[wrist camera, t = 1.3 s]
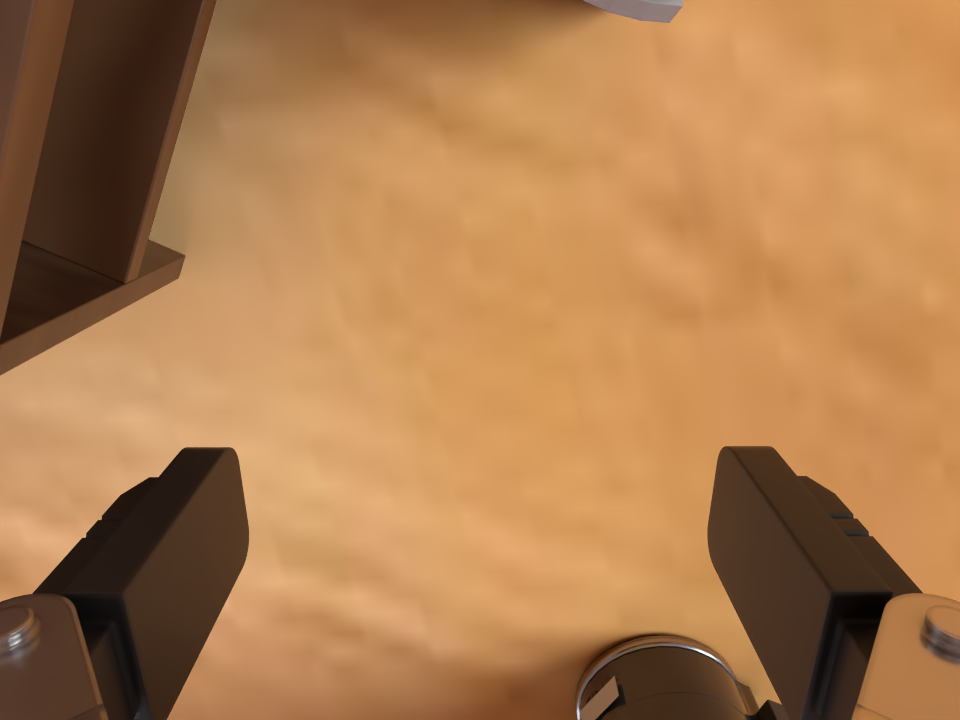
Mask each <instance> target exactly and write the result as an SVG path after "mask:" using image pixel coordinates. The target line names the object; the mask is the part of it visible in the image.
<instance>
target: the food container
mask: <svg viewBox="0 0 960 720" xmlns="http://www.w3.org/2000/svg"><path fill="white" fill-rule="evenodd" d="M583 1H586V2H588V3H590V4H592V5H594V6H596V7H599V8H601V9H603V10H605V11H607V12H610V13H614V14H618V15H621V16H625V17H629V18H633V19H637V20H641V21H653V22H664V23H670V21H671V20H672V19H673V18H674V16H675V15H676V14H677V13H678V11H679V10H680V9H681V8H682V6H683V0H583Z"/></svg>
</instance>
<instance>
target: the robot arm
mask: <svg viewBox="0 0 960 720" xmlns="http://www.w3.org/2000/svg"><path fill="white" fill-rule="evenodd" d="M248 545H249V527H248V519H247V513H246V506H245V499H244V493H243V486H242V479H241V473H240V466H239V460H238V456H237V454H236V452H235V450H234V449H233V448H230V447H187V448H184V449H182V450H181V451H180V452H179V453H178V455H177V456H176V457H175V458H174V459H173V461H172V462H171V463H170V464H169V465H168V467H167V468H166V469H165V470H164V471H163V473H162V474H161V475H160V476H159V477H149V478H148V479H146V480H144V481H143V482H141V483H140V484H138V485H136V486H135V487H133V488H131V489H130V490H128V491H127V492H125V493H123V494H122V495H120V496H119V498H118V499H117V500H116V501H115V502H114V503H113V504H112V505H111V506H110V508H109V509H108V510H107V511H106V512H105V513H104V514H103V515H102V520H98V521H97V522H96V523H95V524H94V525H93V527H92V528H91V529H90V530H89V531H88V532H87V533H86V538H82V539H81V540H80V541H79V542H78V543H77V544H76V546H75V547H74V548H73V549H72V550H71V551H70V552H69V553H68V555H67V556H66V557H65V558H64V559H63V560H62V561H61V562H60V563H59V565H58V566H57V567H56V568H55V569H54V570H53V571H52V572H51V574H50V575H49V576H48V577H47V578H46V579H45V580H44V581H43V582H42V584H41V585H40V586H39V587H38V588H37V589H36V590H35V591H34V593H33V594H29V595H23V596H19V597H14V598H11V599H8V600H5V601H2V602H0V720H167V718H168V716H169V714H170V712H171V710H172V708H173V706H174V704H175V702H176V700H177V698H178V696H179V694H180V692H181V690H182V688H183V686H184V684H185V682H186V680H187V678H188V676H189V674H190V672H191V670H192V668H193V666H194V664H195V662H196V660H197V658H198V656H199V654H200V652H201V650H202V648H203V646H204V644H205V642H206V640H207V638H208V636H209V634H210V632H211V630H212V628H213V626H214V624H215V622H216V620H217V618H218V616H219V614H220V612H221V610H222V608H223V606H224V604H225V602H226V600H227V598H228V596H229V594H230V592H231V590H232V588H233V586H234V584H235V582H236V580H237V578H238V576H239V574H240V572H241V570H242V568H243V566H244V563H245V560H246V556H247V552H248ZM708 547H709V553H710V557H711V560H712V563H713V566H714V568H715V570H716V572H717V574H718V576H719V578H720V580H721V582H722V584H723V586H724V588H725V590H726V592H727V594H728V596H729V598H730V600H731V602H732V604H733V606H734V608H735V610H736V612H737V614H738V616H739V618H740V620H741V622H742V624H743V627H744V629H745V631H746V633H747V635H748V637H749V639H750V641H751V643H752V645H753V647H754V649H755V651H756V653H757V655H758V657H759V659H760V661H761V663H762V665H763V667H764V669H765V671H766V673H767V675H768V677H769V679H770V681H771V683H772V685H773V687H774V689H775V691H776V693H777V695H778V697H779V699H780V701H781V703H782V705H781V704H778V703H776V702H773V701H771V700H767V701H766V702H765V703H764V704H763V706H762V707H761V708H760V709H759V707H758V705H757V703H756V701H755V698H754V696H753V694H752V692H751V689H750V688H749V687H748V686H745V685H743V684H740V683H739V682H737V680H736V677H735V675H734V673H733V671H732V669H731V667H730V666H729V664H728V663H727V662H726V661H725V660H724V658H723V657H722V656H720V655H719V654H718V653H717V652H716V651H714V650H713V649H711V648H709V647H708V646H706V645H704V644H702V643H699V642H697V641H694V640H691V639H687V638H683V637H677V636H649V637H642V638H638V639H634V640H630V641H627V642H625V643H622V644H620V645H618V646H616V647H614V648H612V649H610V650H608V651H607V652H605V653H604V654H602V655H601V656H600V657H599V658H597V659H596V660H595V661H594V662H593V663H592V664H591V665H590V666H589V668H588V669H587V670H586V672H585V673H584V675H583V676H582V678H581V680H580V683H579V685H578V688H577V693H576V711H577V718H578V720H960V602H958V601H955V600H952V599H949V598H946V597H941V596H937V595H931V594H923V593H922V591H921V590H920V589H919V588H918V587H917V586H916V585H915V584H914V582H913V581H912V580H911V579H910V578H909V577H908V576H907V574H906V573H905V572H904V571H903V570H902V569H901V568H900V567H899V565H898V564H897V563H896V562H895V561H894V560H893V559H892V558H891V556H890V555H889V554H888V553H887V552H886V551H885V550H884V549H883V547H882V546H881V545H880V544H879V543H878V542H877V541H876V540H875V538H874V537H873V536H869V532H868V531H867V529H866V528H865V527H864V526H863V525H862V524H861V523H860V521H859V520H858V519H854V518H853V514H852V512H851V511H850V510H849V509H848V508H847V507H846V506H845V505H844V503H843V502H842V501H841V500H840V499H839V498H838V497H837V496H836V494H834V493H833V492H831V491H830V490H828V489H826V488H825V487H823V486H821V485H820V484H818V483H817V482H815V481H813V480H812V479H810V478H809V477H807V476H797V475H796V474H795V473H794V472H793V470H792V469H791V468H790V467H789V466H788V464H787V463H786V462H785V461H784V460H783V458H782V457H781V456H780V455H779V454H778V452H777V451H776V450H775V449H774V448H772V447H770V446H725V447H723V448H722V449H721V451H720V453H719V456H718V461H717V467H716V474H715V481H714V488H713V494H712V501H711V508H710V515H709V522H708Z"/></svg>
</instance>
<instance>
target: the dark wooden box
mask: <svg viewBox="0 0 960 720" xmlns="http://www.w3.org/2000/svg"><path fill="white" fill-rule="evenodd" d="M215 4H216V0H0V375H2V374H4V373H6V372H7V371H9V370H11V369H13V368H15V367H17V366H18V365H20V364H22V363H24V362H26V361H28V360H29V359H31V358H33V357H35V356H37V355H39V354H40V353H42V352H44V351H46V350H48V349H50V348H51V347H53V346H55V345H57V344H59V343H61V342H62V341H64V340H66V339H68V338H70V337H72V336H73V335H75V334H77V333H79V332H81V331H83V330H84V329H86V328H88V327H90V326H92V325H94V324H95V323H97V322H99V321H101V320H103V319H105V318H106V317H108V316H110V315H112V314H114V313H116V312H117V311H119V310H121V309H123V308H125V307H127V306H128V305H130V304H132V303H134V302H136V301H138V300H139V299H141V298H143V297H145V296H147V295H149V294H151V293H152V292H154V291H156V290H158V289H160V288H162V287H163V286H165V285H167V284H169V283H171V282H173V281H174V280H176V279H178V278H179V275H180V272H181V269H182V265H183V262H184V259H185V255H183V254H180V253H178V252H176V251H173V250H171V249H169V248H167V247H164V246H162V245H160V244H157V243H155V242H153V241H150V240H148V238H149V235H150V231H151V228H152V224H153V221H154V217H155V214H156V210H157V207H158V203H159V200H160V196H161V193H162V189H163V186H164V182H165V179H166V175H167V172H168V168H169V165H170V161H171V158H172V154H173V151H174V147H175V144H176V140H177V137H178V133H179V130H180V126H181V123H182V119H183V116H184V112H185V109H186V105H187V102H188V98H189V95H190V91H191V88H192V84H193V81H194V77H195V74H196V70H197V67H198V63H199V60H200V56H201V53H202V49H203V46H204V42H205V39H206V35H207V32H208V28H209V25H210V21H211V18H212V14H213V11H214V7H215Z"/></svg>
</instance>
